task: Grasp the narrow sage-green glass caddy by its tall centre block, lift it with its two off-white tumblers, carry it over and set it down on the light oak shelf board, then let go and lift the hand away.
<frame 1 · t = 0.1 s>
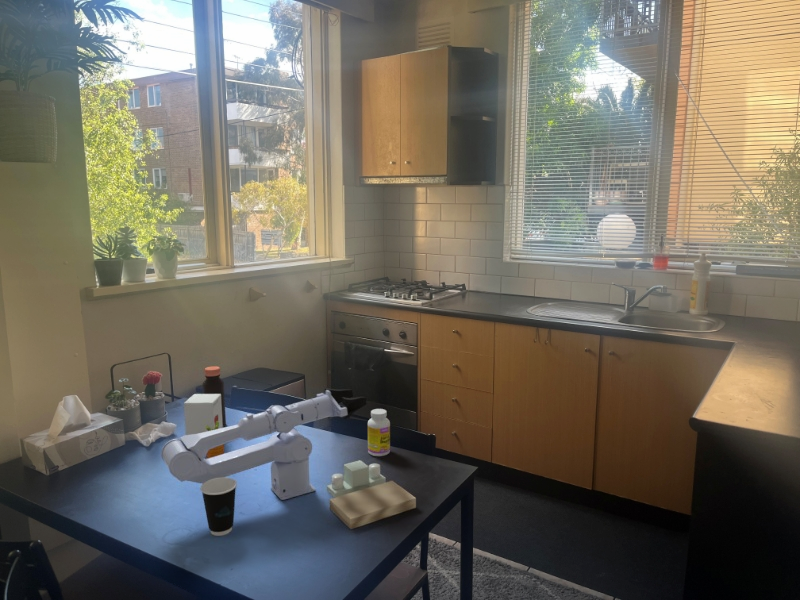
hand: (358, 396, 162), 22 cm above the table, tool horizontal, fingers open, 7 cm apart
supplement bottle: (379, 453, 178), on the table
vinegar: (215, 426, 200), on the table
carrot: (216, 475, 164), on the table
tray: (356, 487, 156), on the table
supplement box: (205, 444, 185), on the table
shelf board: (372, 508, 145), on the table
dixie cup: (221, 530, 136), on the table
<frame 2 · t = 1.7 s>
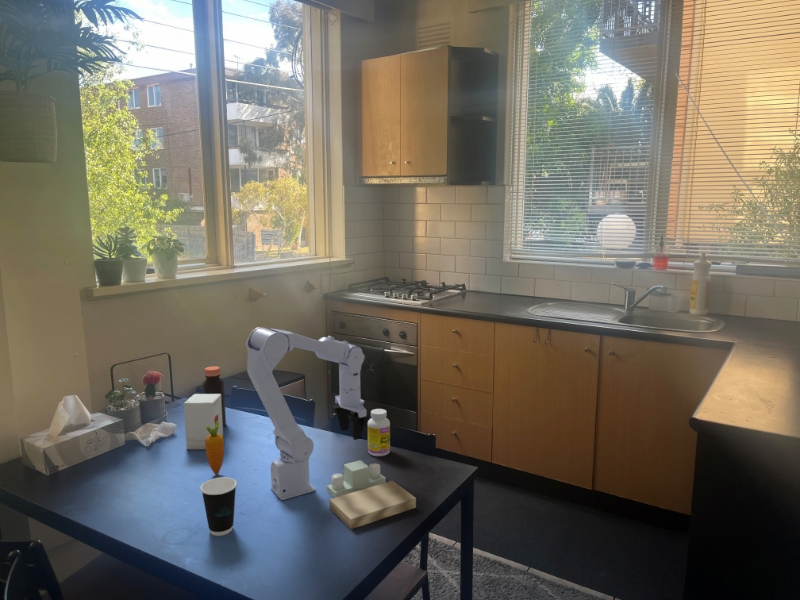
hand: (350, 434, 165), 10 cm above the table, tool pointing down, fingers open, 7 cm apart
nothing on the table moved.
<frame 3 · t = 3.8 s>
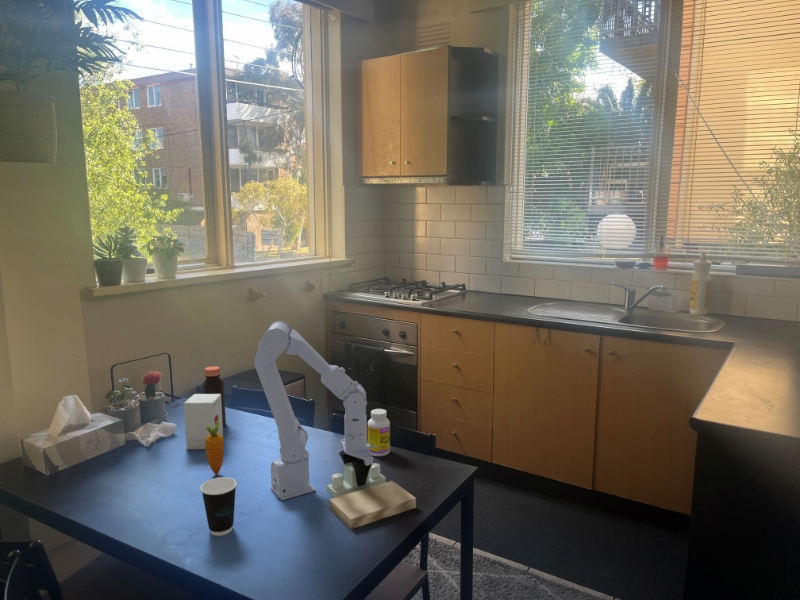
hand: (356, 481, 156), 2 cm above the table, tool pointing down, fingers closed on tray, 5 cm apart
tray: (356, 486, 156), on the table, touching gripper
everything else where it was.
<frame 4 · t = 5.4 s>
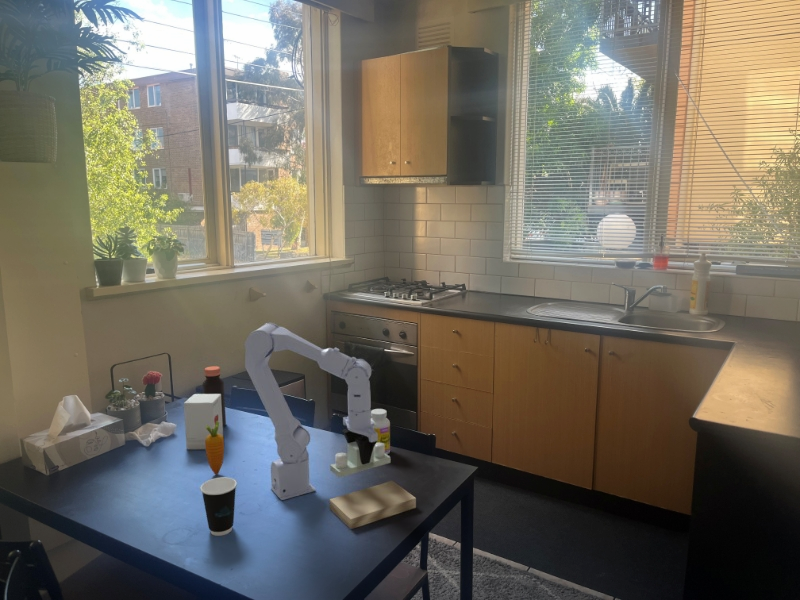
hand: (360, 459, 152), 9 cm above the table, tool pointing down, fingers closed on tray, 5 cm apart
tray: (360, 466, 153), point 7 cm above the table, touching gripper
everything else where it was.
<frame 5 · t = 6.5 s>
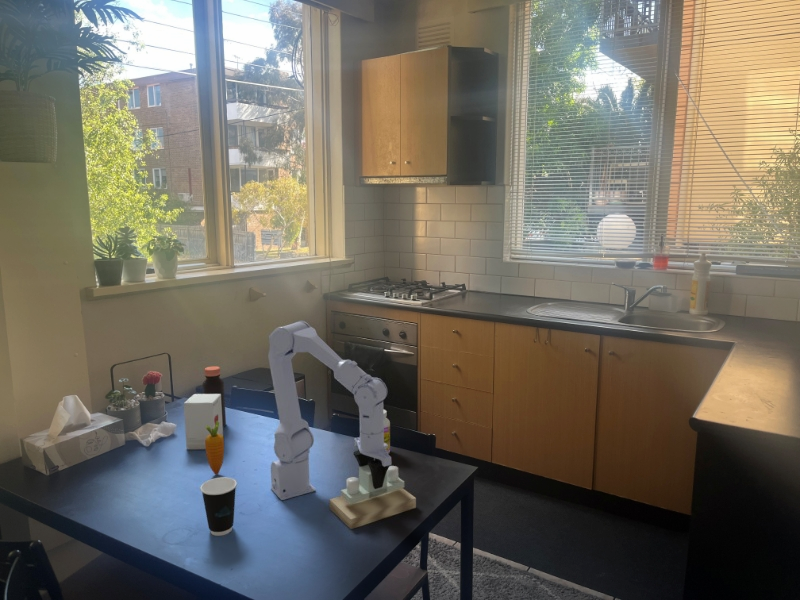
hand: (372, 483, 144), 7 cm above the table, tool pointing down, fingers closed on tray, 5 cm apart
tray: (373, 491, 145), point 4 cm above the table, touching gripper
everything else where it was.
when the fingers open (6 cm above the table, at t = 7.1 s): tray stays where it is, resting on shelf board.
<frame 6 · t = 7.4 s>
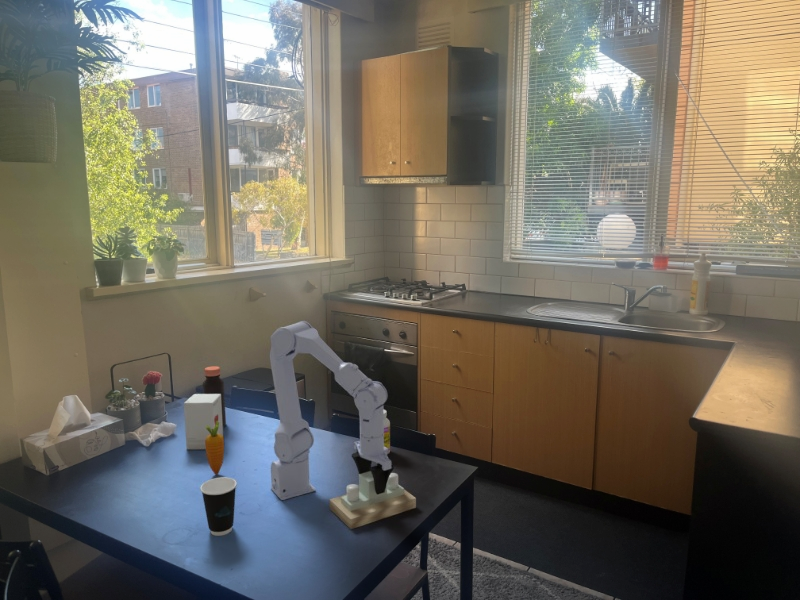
hand: (372, 486, 145), 6 cm above the table, tool pointing down, fingers open, 7 cm apart
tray: (373, 498, 145), point 2 cm above the table, touching shelf board
everything else where it was.
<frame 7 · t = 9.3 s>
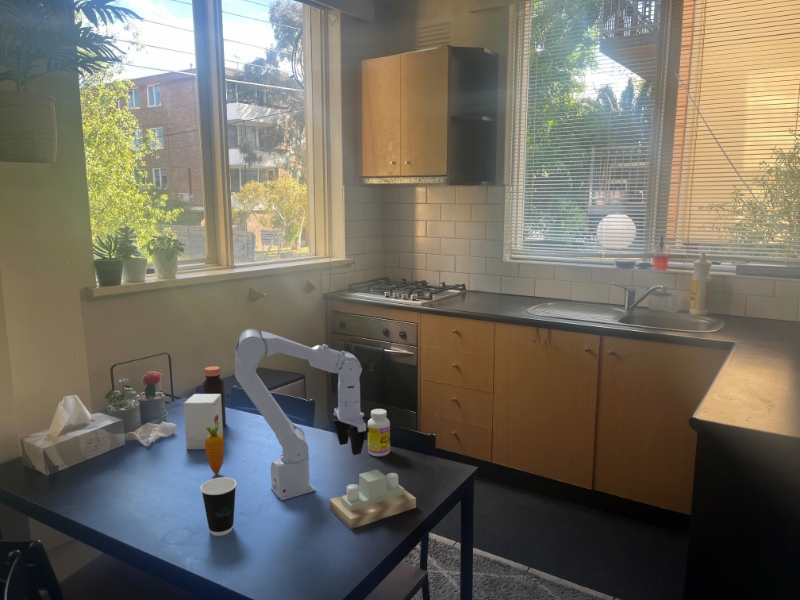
hand: (350, 448, 158), 9 cm above the table, tool pointing down, fingers open, 7 cm apart
nothing on the table moved.
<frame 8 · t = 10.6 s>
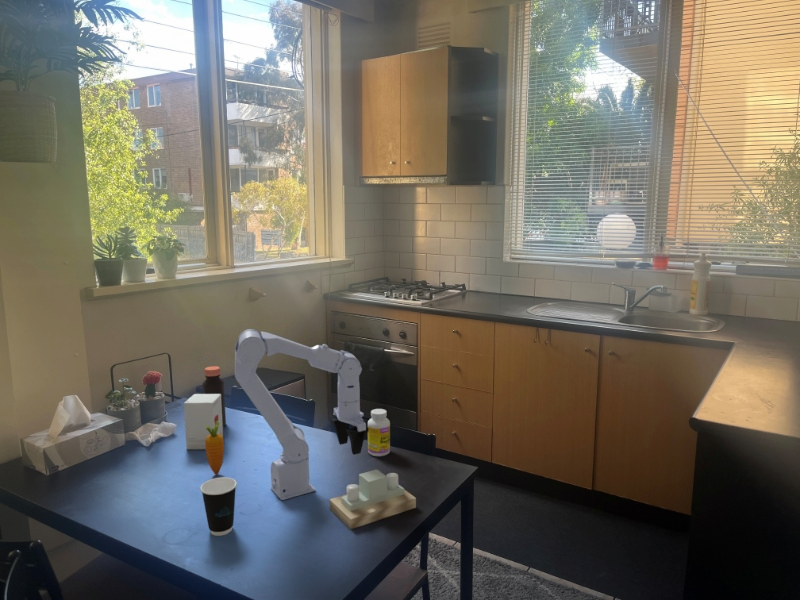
hand: (349, 448, 158), 9 cm above the table, tool pointing down, fingers open, 7 cm apart
nothing on the table moved.
at the end: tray 0.1 cm off-centre on the shelf board, point 2.5 cm above the shelf board's base; the gripper is holding nothing; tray tilted 0° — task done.
